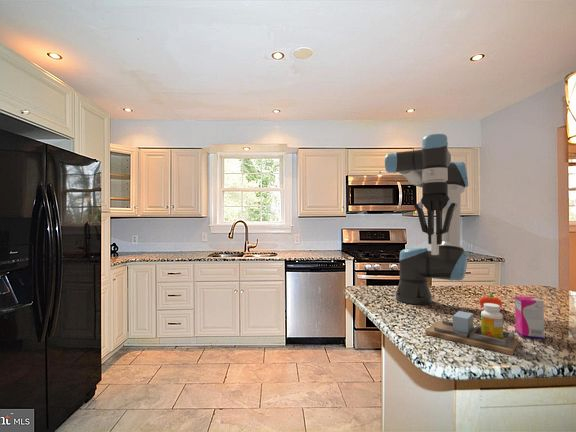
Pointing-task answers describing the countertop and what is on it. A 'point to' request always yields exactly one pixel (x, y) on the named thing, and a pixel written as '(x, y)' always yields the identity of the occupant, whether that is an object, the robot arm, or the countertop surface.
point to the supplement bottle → (492, 321)
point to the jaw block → (463, 322)
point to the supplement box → (529, 317)
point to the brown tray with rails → (474, 337)
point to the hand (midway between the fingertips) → (435, 254)
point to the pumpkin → (490, 300)
